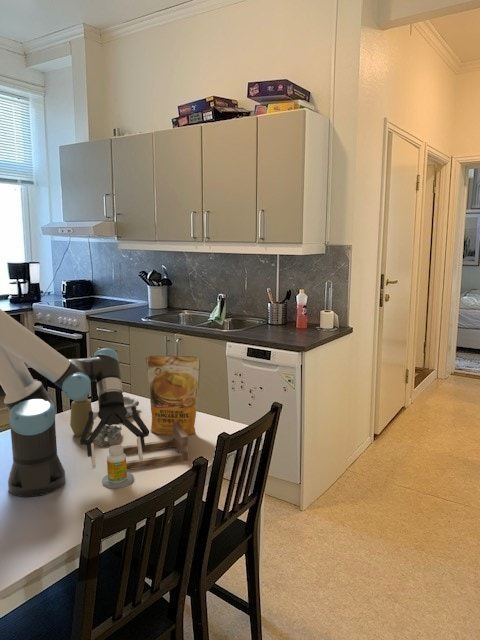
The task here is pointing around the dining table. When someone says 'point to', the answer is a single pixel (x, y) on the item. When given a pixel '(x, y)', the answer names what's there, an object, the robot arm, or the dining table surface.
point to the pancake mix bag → (173, 392)
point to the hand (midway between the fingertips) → (118, 463)
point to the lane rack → (178, 442)
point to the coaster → (118, 485)
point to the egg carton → (109, 435)
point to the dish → (130, 404)
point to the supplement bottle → (116, 464)
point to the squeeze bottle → (80, 415)
